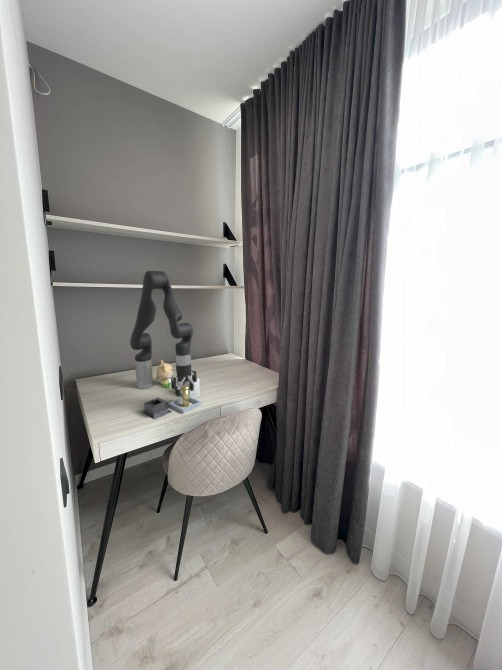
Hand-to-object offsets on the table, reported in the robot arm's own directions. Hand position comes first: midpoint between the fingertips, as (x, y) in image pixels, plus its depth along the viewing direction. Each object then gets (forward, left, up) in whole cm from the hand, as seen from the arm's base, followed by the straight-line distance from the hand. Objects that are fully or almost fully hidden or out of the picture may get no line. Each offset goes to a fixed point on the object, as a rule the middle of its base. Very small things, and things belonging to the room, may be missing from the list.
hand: (184, 393), depth 139 cm
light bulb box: (-10, +11, -8) cm, 17 cm away
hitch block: (-6, -13, -8) cm, 16 cm away
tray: (0, 0, -8) cm, 8 cm away
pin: (0, 0, -7) cm, 7 cm away
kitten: (-35, +12, -8) cm, 38 cm away
